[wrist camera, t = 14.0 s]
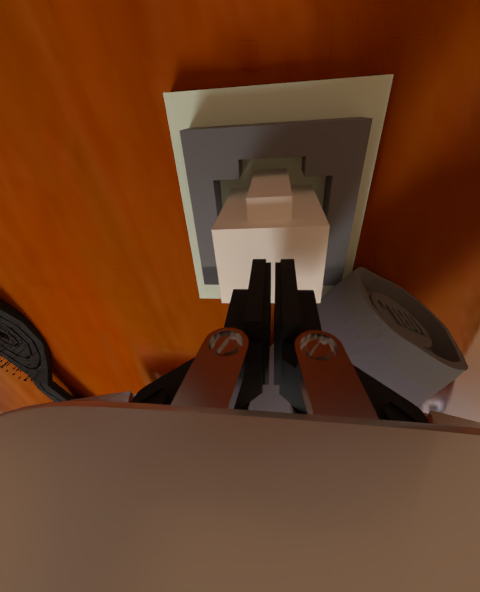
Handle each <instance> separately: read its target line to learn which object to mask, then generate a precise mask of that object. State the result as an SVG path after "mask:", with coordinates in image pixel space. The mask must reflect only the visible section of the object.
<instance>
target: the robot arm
mask: <svg viewBox="0 0 480 592" xmlns="http://www.w3.org/2000/svg"><path fill="white" fill-rule="evenodd" d="M270 323H271V262H266V259H253V261H252V267H251V274H250V280H249V286H248V289H233V292H232V296H231V301H230V305H229V309H228V313H227V317H226V321H225V326H224V328H220V329H217V330H215V331H213V332H211V333H210V334H209V335H208V336H207V337H206V338H205V340H204V342H203V344H202V346H201V347H200V349H199V351H198V353H197V355H196V357H195V358H193V359H191V360H190V361H188V362H186V363H184V364H183V365H181V366H179V367H178V368H176V369H174V370H172V371H171V372H169V373H167V374H166V375H164V376H162V377H160V378H159V379H157V380H155V381H154V382H152V383H150V384H149V385H147V386H145V387H144V388H142V389H141V390H140V391H139V392H138V393H137V394H132V393H131V391H128V392H121V393H114V394H107V395H101V396H94V397H87V398H80V399H73V400H69V401H64V402H50V403H44V404H38V405H32V406H27V407H23V408H19V409H16V410H12V411H8V412H5V413H2V414H0V592H480V423H479V422H475V421H471V420H467V419H463V418H459V417H455V416H451V415H447V414H443V413H439V412H435V411H430V412H429V414H427V413H423V412H422V411H421V410H420V409H419V408H418V407H417V406H415V405H414V404H413V403H412V402H410V401H408V400H407V399H405V398H404V397H402V396H401V395H399V394H398V393H396V392H395V391H393V390H392V389H390V388H388V387H387V386H385V385H384V384H382V383H381V382H379V381H378V380H376V379H375V378H373V377H371V376H370V375H368V374H367V373H365V372H364V371H362V370H361V369H359V368H358V367H356V366H355V365H353V364H352V363H351V361H350V359H349V357H348V355H347V353H346V351H345V349H344V346H343V344H342V343H341V342H340V340H339V339H338V338H336V337H335V336H334V335H332V334H330V333H328V332H324V331H322V328H321V324H320V319H319V314H318V309H317V304H316V299H315V294H314V291H313V290H298V289H297V280H296V271H295V262H294V259H281V261H280V262H275V308H274V385H279V395H281V396H282V397H284V398H285V399H286V400H287V401H288V402H289V403H290V413H283V412H269V411H254V410H251V408H252V400H253V399H255V398H256V397H257V396H259V395H260V394H263V385H269V358H270Z"/></svg>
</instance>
